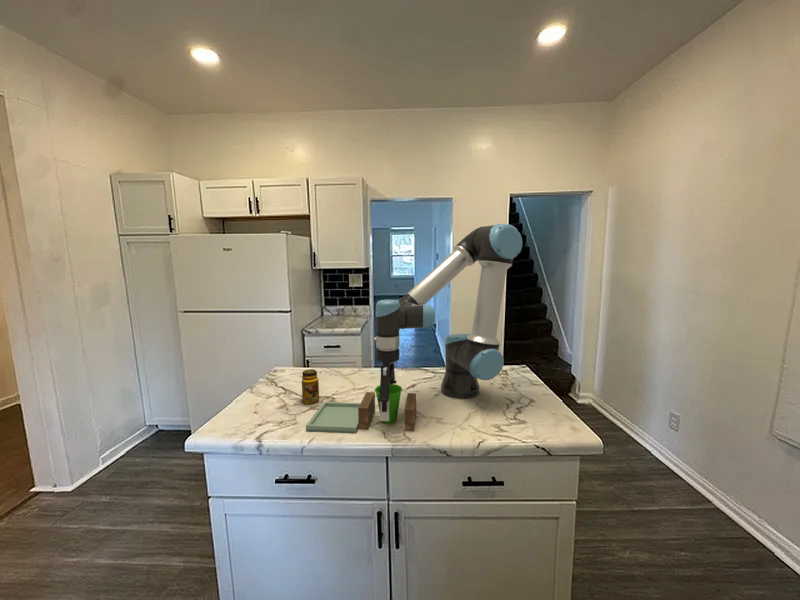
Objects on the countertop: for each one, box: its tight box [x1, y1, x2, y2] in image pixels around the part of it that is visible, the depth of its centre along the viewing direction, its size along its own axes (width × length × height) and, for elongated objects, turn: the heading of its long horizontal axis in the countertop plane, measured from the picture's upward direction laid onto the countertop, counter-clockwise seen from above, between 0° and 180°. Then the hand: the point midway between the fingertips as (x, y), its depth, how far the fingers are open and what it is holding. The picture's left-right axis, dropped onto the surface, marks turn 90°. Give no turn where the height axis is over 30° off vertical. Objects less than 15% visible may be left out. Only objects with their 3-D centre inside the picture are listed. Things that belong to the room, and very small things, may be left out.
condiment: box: [294, 368, 324, 408], centre depth 132 cm, size 7×8×12 cm
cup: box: [374, 383, 403, 425], centre depth 116 cm, size 9×9×11 cm
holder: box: [358, 391, 418, 432], centre depth 117 cm, size 18×13×7 cm
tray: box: [305, 401, 361, 434], centre depth 119 cm, size 16×18×2 cm
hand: (387, 411), depth 116 cm, fingers open, 13 cm apart
